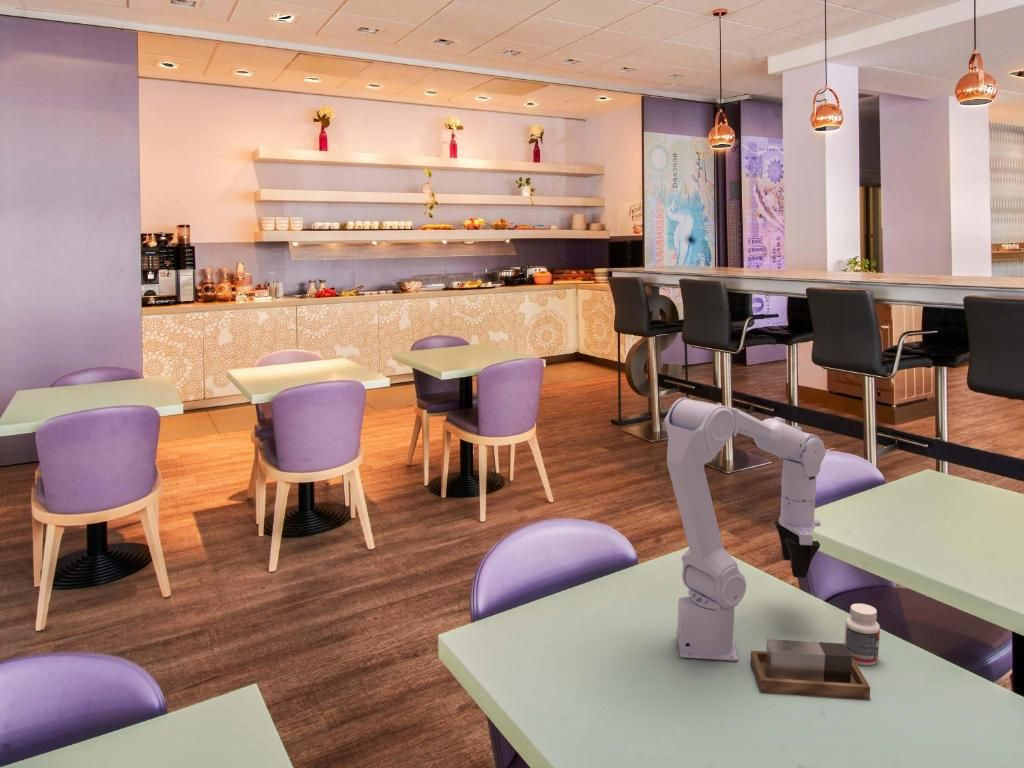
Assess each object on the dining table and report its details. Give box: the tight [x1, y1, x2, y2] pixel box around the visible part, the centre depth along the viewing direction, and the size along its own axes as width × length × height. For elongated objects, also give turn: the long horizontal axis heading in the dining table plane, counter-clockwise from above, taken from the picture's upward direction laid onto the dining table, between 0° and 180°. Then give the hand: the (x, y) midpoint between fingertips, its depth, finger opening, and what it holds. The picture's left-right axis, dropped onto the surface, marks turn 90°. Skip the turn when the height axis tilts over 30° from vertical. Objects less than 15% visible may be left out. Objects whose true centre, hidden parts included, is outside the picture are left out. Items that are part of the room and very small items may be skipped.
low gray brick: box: [765, 638, 852, 683], centre depth 117 cm, size 12×4×5 cm, turn 82°
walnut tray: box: [749, 650, 871, 701], centre depth 117 cm, size 16×9×2 cm, turn 82°
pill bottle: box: [843, 603, 881, 667], centre depth 123 cm, size 5×5×9 cm
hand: (794, 568), depth 135 cm, fingers open, 7 cm apart
